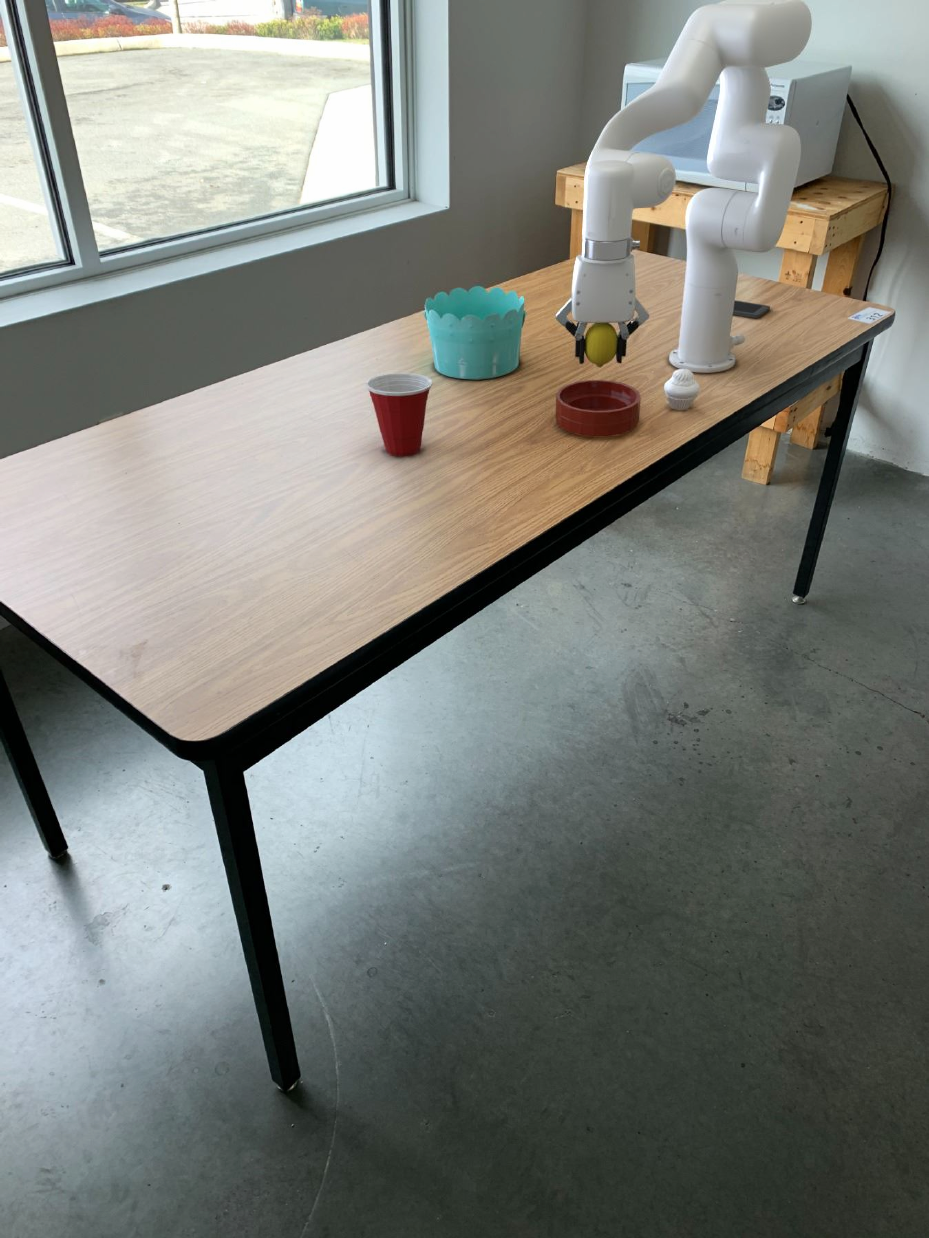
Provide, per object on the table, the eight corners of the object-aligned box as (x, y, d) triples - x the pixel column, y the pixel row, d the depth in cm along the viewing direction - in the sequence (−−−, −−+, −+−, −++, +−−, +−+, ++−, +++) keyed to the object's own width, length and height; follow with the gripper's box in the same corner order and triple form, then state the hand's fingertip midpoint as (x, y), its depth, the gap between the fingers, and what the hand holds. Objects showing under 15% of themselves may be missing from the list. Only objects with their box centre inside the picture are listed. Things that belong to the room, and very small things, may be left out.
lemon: (614, 374, 160) (618, 326, 155) (581, 372, 161) (583, 324, 156) (617, 362, 164) (620, 315, 159) (584, 360, 165) (586, 314, 160)
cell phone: (758, 318, 210) (758, 315, 209) (698, 308, 216) (698, 305, 216) (770, 309, 214) (771, 306, 214) (711, 300, 221) (712, 296, 221)
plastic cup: (445, 439, 164) (442, 371, 158) (422, 467, 156) (418, 396, 149) (386, 432, 168) (380, 365, 161) (360, 459, 159) (353, 389, 152)
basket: (413, 375, 189) (409, 309, 181) (450, 344, 203) (447, 282, 195) (505, 386, 183) (505, 318, 175) (536, 354, 196) (537, 289, 189)
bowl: (600, 400, 176) (601, 373, 173) (655, 425, 167) (657, 397, 164) (539, 420, 170) (539, 393, 167) (592, 447, 160) (594, 419, 157)
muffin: (704, 405, 173) (708, 367, 169) (685, 416, 169) (689, 378, 165) (674, 397, 176) (678, 360, 172) (655, 407, 173) (658, 369, 169)
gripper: (658, 241, 154) (649, 352, 164) (549, 243, 155) (547, 353, 165) (664, 253, 148) (654, 368, 158) (551, 255, 149) (549, 369, 159)
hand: (599, 359), depth 162 cm, fingers closed on lemon, 5 cm apart
